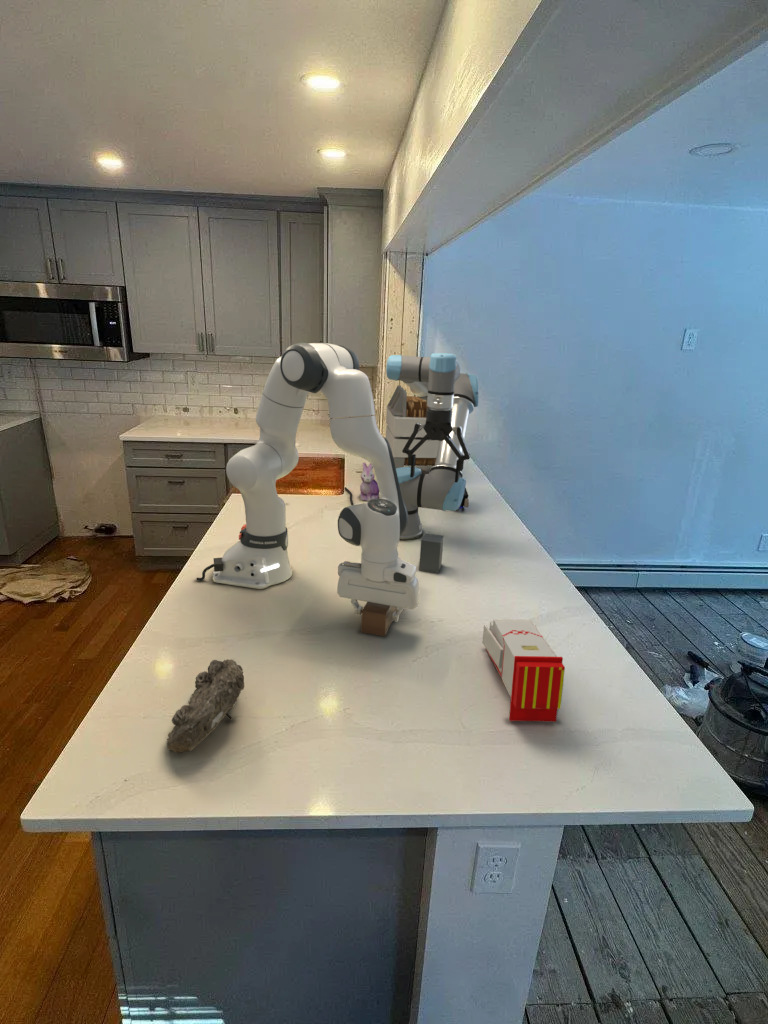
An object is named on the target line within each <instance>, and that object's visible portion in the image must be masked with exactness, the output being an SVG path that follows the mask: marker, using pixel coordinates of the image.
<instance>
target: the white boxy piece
mask: <svg viewBox="0 0 768 1024" xmlns="http://www.w3.org/2000/svg"><path fill="white" fill-rule="evenodd" d="M407 394H408V393H407V390H406V389H404V388H403V387H402V385H399V384H398V385H397V386H396V388H395V390H394V392H393V394H392V395H391V398H390V400H389V402H388V404H387V405H386V413H385V414H386V415H385V423H386V428H385V438H386V439H387V440H388V442H389V444H390V447H391V450H392V454H393V458H394V463H395V467H396V468H401V467H405V466H406V467H409V466H408V455H407V454H406V453H403V452H402V450H403V448H404V447H405V445H406V443H407V442H408V440H409V438H410V436H411V435H412V433H413V431H414V427H415V424H416V423H418V422H419V423H420V424H424V425H425V423H426V411H427V409H428V408H429V407H428V406H427V401H425V400H423V399H421V398H419V397H417V396H416V395H414V396H413V395H412V396H411V395H407ZM426 434H427V433H426V432H425V430H424V428H423V429H422V430H421V431H419V432H418V434H417V435H416V437H415V439H414V440H413V442H412V444H411V446H410V447H409V450H411V449H412V448H413V447H414V446H415V445H416V444H417V443H418V442H419V441H420V440H421V439H422V438H423V437H424V436H425V435H426ZM438 446H439V441H438V440H431V439H430V438H428V439H427V440H426V441H425V442H424V443H423V444H422V445H421V446H420V447H419V448H418V449H417V450H416V451H415V452H414V453H413V454H415V455H416V458H415V467H417V466H418V467H433V466H435V462H436V456H437V451H438Z"/></svg>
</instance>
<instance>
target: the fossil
mask: <svg viewBox="0 0 768 1024" xmlns="http://www.w3.org/2000/svg"><path fill="white" fill-rule="evenodd" d="M243 670H244V669H243V667H242V665H240V664H237V662H236V661H235V660H234V659H232V658H231V659H227V658H226V659H224V660H223V661H222V660H217V659H212V660H211V661H210V663H209V665H208V666H207V671H201V672H199V673H198V674H197V675H196V676H195V680H194V684H195V685H194V687H195V689H194V690H193V693H192V694H191V697H190V698H189V700H188V704H184V705H182V706H181V707H180V709H177V710H176V711H175V713H174V715H173V716H172V718H171V723H172V724H173V727H172V730H171V731H170V732H168V734H167V738H166V741H167V742H166V745H167V749H168V750H169V751H173V752H174V753H176V754H178V753H182V752H188V751H189V752H192V751H193V750H195V748H196V747H197V746H199V744H200V743H201V742H203V741H204V740H205V739H206V738H207V737H208V736H209V735H210V734H211V733H212V732H214V730H215V729H217V727H218V726H219V724H220V722H221V721H222V720H223V719H224V718H225V716H226V717H227V719H229V720H233V717H232V715H230V714H229V710H230V709H231V708H234V706H235V704H236V703H237V702H238V699H239V697H240V695H241V693H242V691H243V690H245V689H244V688H245V675H244V671H243Z"/></svg>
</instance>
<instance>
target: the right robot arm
mask: <svg viewBox="0 0 768 1024" xmlns="http://www.w3.org/2000/svg"><path fill="white" fill-rule="evenodd" d="M457 359H458V358H457V355H456V354H454V353H449V352H448V353H447V352H433V353H432V354H430V356H415V355H403V354H402V355H401V354H392V355H389V357H387V361H386V366H385V367H386V368H385V371H386V377H387V379H388V380H389V381H390V380H391V381H399V382H403V384H405V385H406V386H407V387H408V388H409V390H410V392H411V393H412V394H413V395H414V396H415V397H419V398H421V399H423V400H425V401H427V406H428V407H429V408H428V409H427V411H426V423H425V425H424V424H420V423H419V422H418V423H416V424H415V427H414V431H413V433H412V435H411V436H410V438H409V440H408V442H407V443H406V445H405V447H404V448H403V450H402V452H403V453H406V454H407V455H408V466H404V467H401V468H396V472H397V477H398V481H399V486H400V490H401V495H402V499H403V501H404V504H405V507H406V509H407V512H408V524H407V527H406V529H405V531H404V532H403V534H402V535H401V536H400V538H399V541H410V540H415V539H418V538H420V537H421V536H422V535H423V523H422V522H421V518H420V515H419V508H422V509H428V510H429V509H430V510H437V511H443V512H457V511H458V510H459V509H460V508H459V507H460V505H461V502H462V499H463V496H464V491H465V487H466V486H467V480H466V478H465V477H463V476H464V475H463V470H464V465H465V461H467V460H470V459H471V452H470V450H469V447H468V445H467V442H466V440H465V437H466V431H467V426H468V425H467V424H468V419H469V415H470V414H471V413H473V411H474V409H475V408H478V407H479V389H480V388H479V387H480V386H479V385H480V383H479V382H480V381H479V379H480V378H479V376H478V375H477V374H475V373H468V372H465V373H463V372H462V371H461V369H462V368H461V365H460V363H459V362H458V360H457ZM461 372H462V373H461ZM423 428H424V430H425V432H426V433H427V434H426V435H425V436H424V437H423V438H422V439H421V440H420V441H419V442H418V443H417V444H416V445H415V446H414V447H413V448H412V449H411V450H409V447H410V446H411V444H412V442H413V440H414V439H415V437H416V435H417V434H418V432H419V431H421V430H422V429H423ZM428 438H430V439H431V440H438V441H439V446H438V451H437V456H436V462H435V466H430V468H429V470H428V473H422V469H421V468H420V467H417V466H415V458H416V455H415V454H413V453H414V452H415V451H416V450H417V449H418V448H419V447H420V446H421V445H422V444H423V443H424V442H425V441H426V440H427V439H428ZM344 490H345V491H346V492H348V494H349V502H350V506H351V505H355V504H354V503H353V501H354V500H353V493H352V492H351V490H349V489H348V488H347V487H346V486H345V487H344ZM456 510H457V511H456Z"/></svg>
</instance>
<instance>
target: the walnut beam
mask: <svg viewBox="0 0 768 1024" xmlns="http://www.w3.org/2000/svg"><path fill="white" fill-rule="evenodd" d="M397 611H398V610H397V607H395V606H389V605H383V604H378V603H372V602H366V603H365V605H364V606H363V609H362V614H361V628H360V629H361V630H360V632H361V633H363V634H365V633H366V634H370V635H375V636H381V637H386V635H387V633H388V631H389V629H390V627H391V625H392V622H393V621H392V614H393V612H397Z"/></svg>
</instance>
